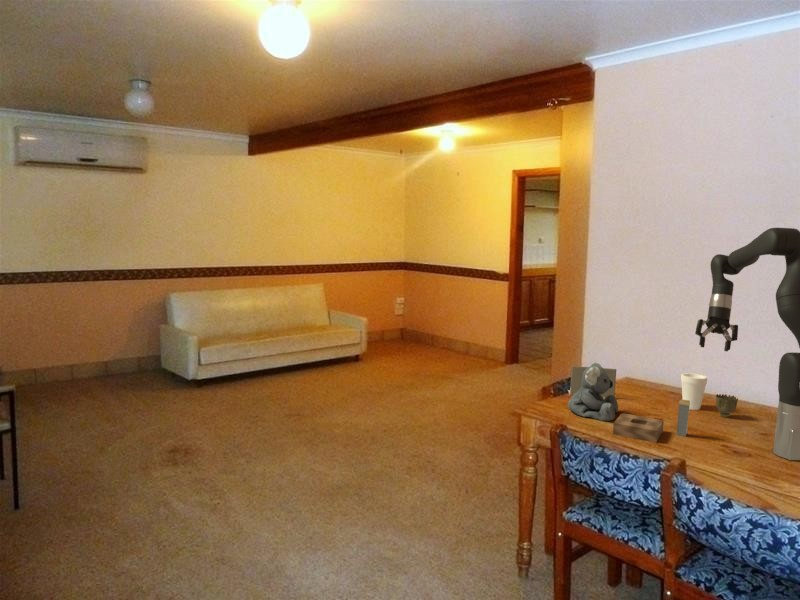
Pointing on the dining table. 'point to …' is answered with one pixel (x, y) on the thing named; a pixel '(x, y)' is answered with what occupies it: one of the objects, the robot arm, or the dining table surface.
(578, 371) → the grey box
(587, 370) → the koala plush
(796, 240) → the robot arm
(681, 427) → the blue-grey rectangular block
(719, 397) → the cup
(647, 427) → the flat wooden box
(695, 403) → the foam cup
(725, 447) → the dining table surface
